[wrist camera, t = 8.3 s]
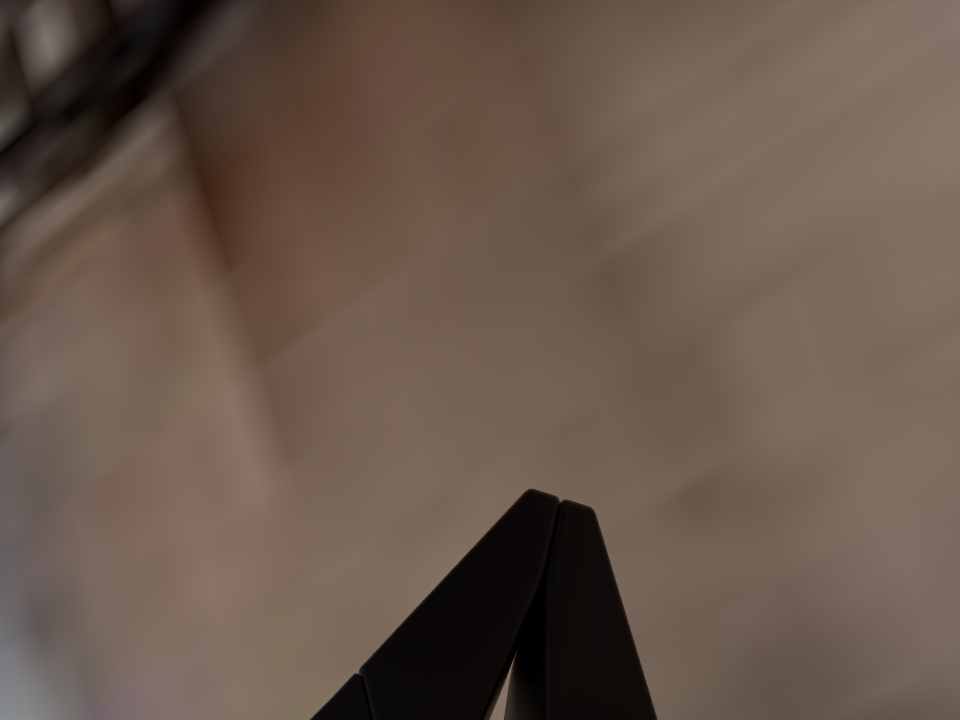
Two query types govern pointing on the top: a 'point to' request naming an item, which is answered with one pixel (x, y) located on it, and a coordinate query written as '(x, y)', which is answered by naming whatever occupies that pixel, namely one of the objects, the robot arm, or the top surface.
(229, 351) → the top surface
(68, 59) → the top surface
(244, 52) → the top surface
